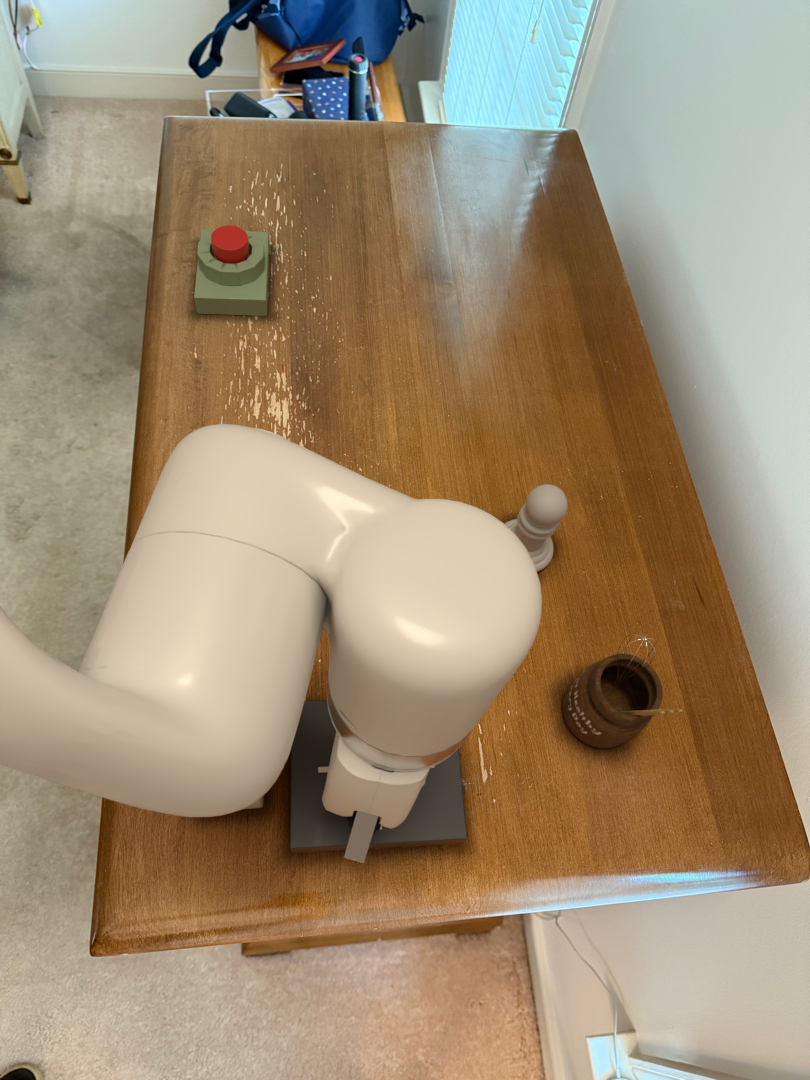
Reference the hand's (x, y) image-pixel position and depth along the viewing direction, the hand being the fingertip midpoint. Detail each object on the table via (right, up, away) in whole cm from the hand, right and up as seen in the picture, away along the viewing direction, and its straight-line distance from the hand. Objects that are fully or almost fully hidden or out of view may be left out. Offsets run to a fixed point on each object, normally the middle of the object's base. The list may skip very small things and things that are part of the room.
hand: (377, 765), depth 51 cm
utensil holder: (+17, +2, +8) cm, 19 cm away
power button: (-16, +45, +23) cm, 52 cm away
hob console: (0, -2, +3) cm, 4 cm away
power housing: (-16, +43, +26) cm, 53 cm away
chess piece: (+12, +15, +14) cm, 24 cm away
